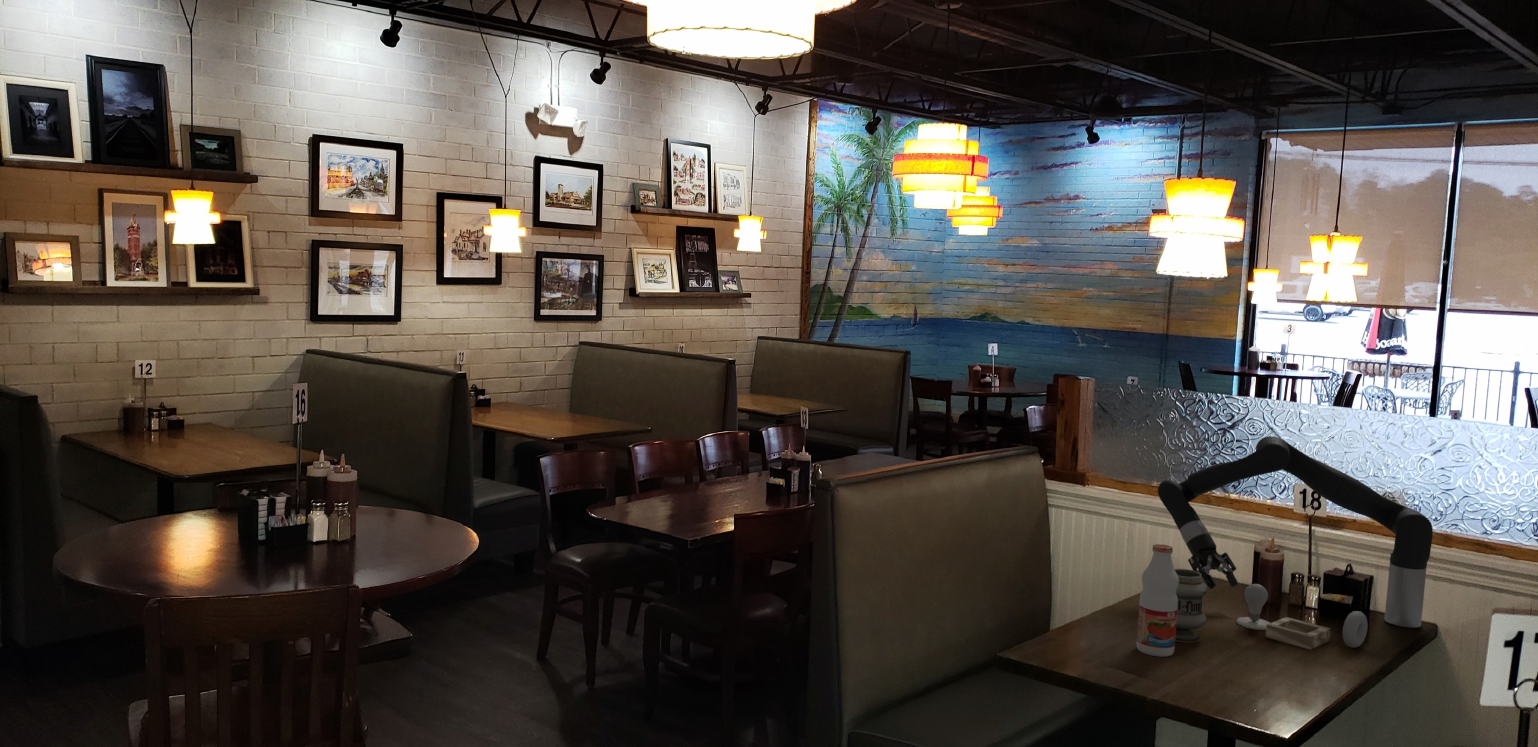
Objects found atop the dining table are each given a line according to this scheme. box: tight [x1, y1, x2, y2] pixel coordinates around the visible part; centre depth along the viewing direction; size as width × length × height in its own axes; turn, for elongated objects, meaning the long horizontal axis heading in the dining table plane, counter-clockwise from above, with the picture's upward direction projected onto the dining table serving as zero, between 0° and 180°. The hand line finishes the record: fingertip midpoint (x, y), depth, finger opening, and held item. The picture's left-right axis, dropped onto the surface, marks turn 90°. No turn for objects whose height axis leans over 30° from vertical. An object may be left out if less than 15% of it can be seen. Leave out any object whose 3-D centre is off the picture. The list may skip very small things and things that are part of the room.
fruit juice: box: [1136, 543, 1179, 658], centre depth 279 cm, size 9×9×28 cm
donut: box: [1342, 610, 1369, 649], centre depth 289 cm, size 10×3×10 cm, turn 129°
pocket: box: [1265, 616, 1331, 651], centre depth 294 cm, size 12×12×4 cm
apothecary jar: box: [1174, 568, 1209, 644], centre depth 292 cm, size 12×12×18 cm
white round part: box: [1236, 616, 1271, 631], centre depth 305 cm, size 9×9×1 cm
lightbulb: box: [1244, 583, 1269, 622], centre depth 305 cm, size 6×6×11 cm
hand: (1224, 586), depth 315 cm, fingers open, 8 cm apart
